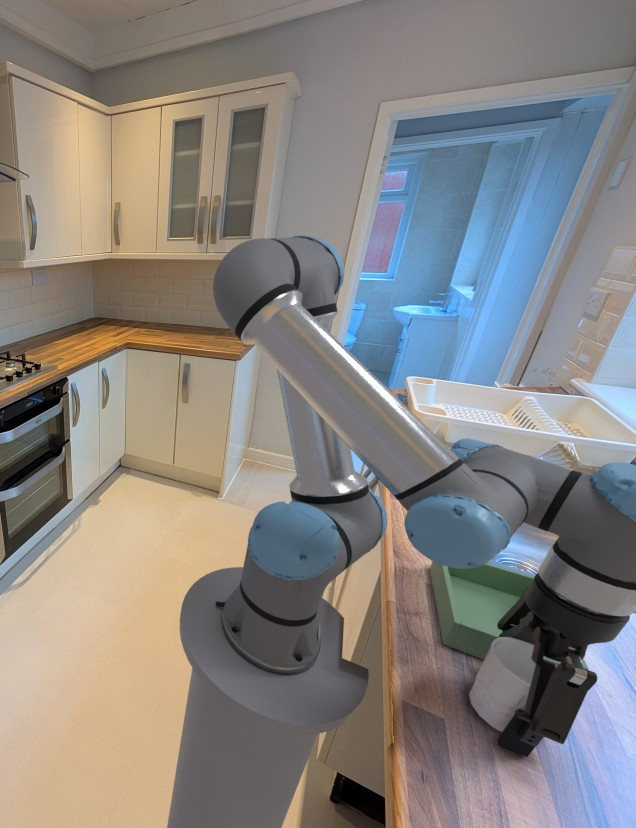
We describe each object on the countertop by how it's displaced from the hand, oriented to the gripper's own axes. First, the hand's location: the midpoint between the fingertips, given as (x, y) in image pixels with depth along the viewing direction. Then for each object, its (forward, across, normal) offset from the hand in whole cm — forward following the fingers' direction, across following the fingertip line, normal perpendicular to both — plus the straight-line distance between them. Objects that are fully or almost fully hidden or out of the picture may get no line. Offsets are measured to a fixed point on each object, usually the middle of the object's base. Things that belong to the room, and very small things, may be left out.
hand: (501, 711), depth 58 cm
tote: (0, +18, -2) cm, 18 cm away
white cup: (0, 0, 0) cm, 0 cm away
